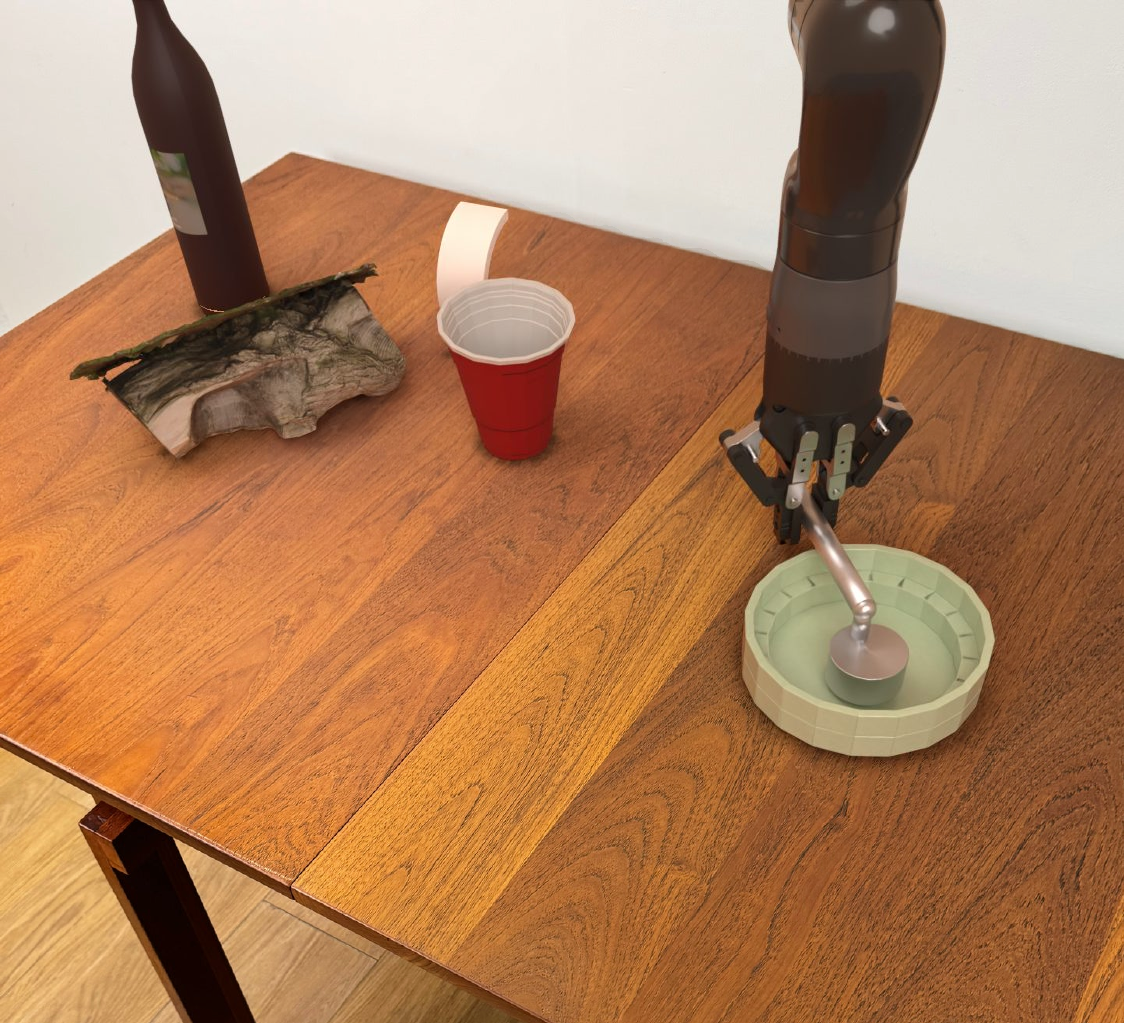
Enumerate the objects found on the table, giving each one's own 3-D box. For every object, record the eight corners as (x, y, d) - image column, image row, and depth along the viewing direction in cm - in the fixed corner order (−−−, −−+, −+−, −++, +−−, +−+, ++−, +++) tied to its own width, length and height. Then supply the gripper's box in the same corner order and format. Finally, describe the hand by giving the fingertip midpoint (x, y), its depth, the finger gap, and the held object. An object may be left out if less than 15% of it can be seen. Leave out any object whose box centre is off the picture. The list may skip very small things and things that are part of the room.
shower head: (747, 532, 92) (751, 470, 87) (812, 518, 93) (820, 456, 88) (842, 713, 80) (853, 652, 76) (915, 696, 81) (930, 635, 76)
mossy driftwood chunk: (133, 516, 107) (115, 484, 92) (70, 379, 105) (42, 324, 91) (422, 408, 113) (448, 361, 99) (367, 277, 112) (385, 210, 97)
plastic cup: (510, 499, 98) (495, 370, 89) (429, 442, 104) (407, 314, 94) (608, 440, 102) (604, 311, 93) (526, 388, 108) (514, 261, 98)
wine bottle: (202, 287, 122) (97, -53, 99) (272, 279, 122) (183, -62, 99) (196, 325, 118) (85, -22, 94) (269, 317, 118) (175, -32, 95)
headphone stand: (519, 334, 113) (508, 209, 104) (490, 369, 110) (476, 243, 101) (476, 325, 115) (461, 201, 105) (446, 359, 111) (427, 234, 102)
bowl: (918, 571, 90) (929, 524, 87) (1022, 730, 80) (1038, 684, 76) (710, 616, 88) (713, 570, 85) (789, 785, 78) (796, 741, 75)
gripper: (742, 374, 71) (729, 589, 85) (960, 330, 73) (913, 549, 86) (703, 308, 76) (697, 522, 89) (908, 268, 77) (871, 485, 91)
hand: (803, 534), depth 88 cm, fingers closed on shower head
